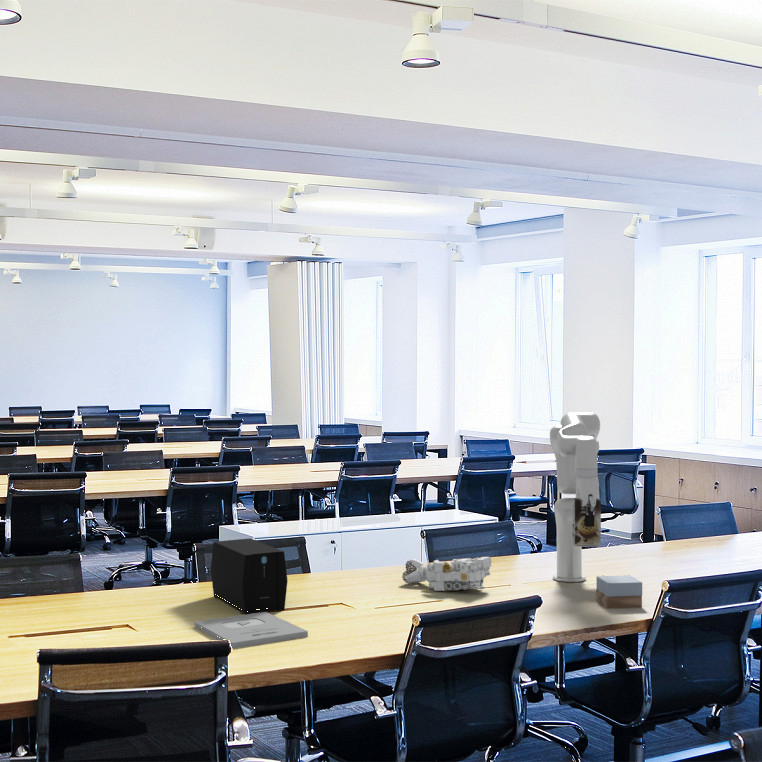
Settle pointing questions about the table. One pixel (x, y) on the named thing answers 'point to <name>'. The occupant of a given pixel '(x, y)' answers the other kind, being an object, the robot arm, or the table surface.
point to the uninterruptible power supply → (249, 575)
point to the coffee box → (580, 532)
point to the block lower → (618, 601)
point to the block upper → (619, 585)
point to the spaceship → (449, 573)
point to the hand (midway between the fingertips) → (586, 524)
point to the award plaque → (251, 629)
